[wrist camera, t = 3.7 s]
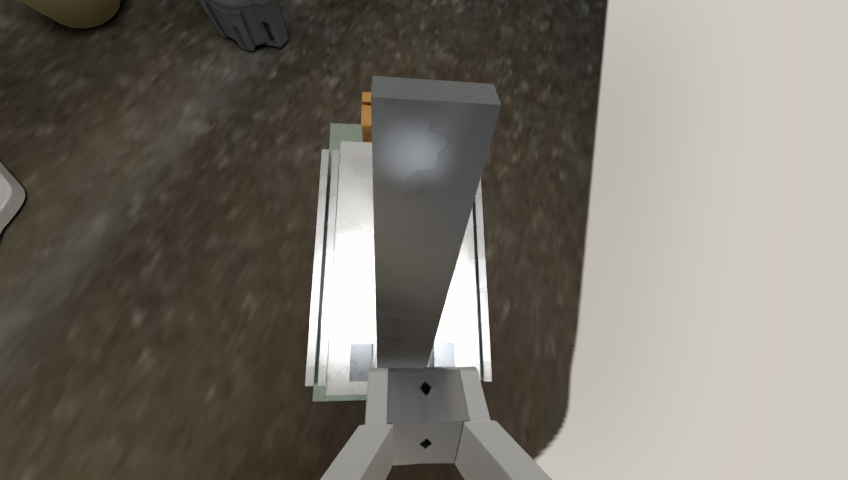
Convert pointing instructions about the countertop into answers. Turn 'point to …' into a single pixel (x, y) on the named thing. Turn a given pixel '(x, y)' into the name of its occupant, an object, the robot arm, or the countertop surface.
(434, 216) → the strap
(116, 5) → the squeeze bottle
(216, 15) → the flashlight
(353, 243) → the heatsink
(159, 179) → the countertop surface
